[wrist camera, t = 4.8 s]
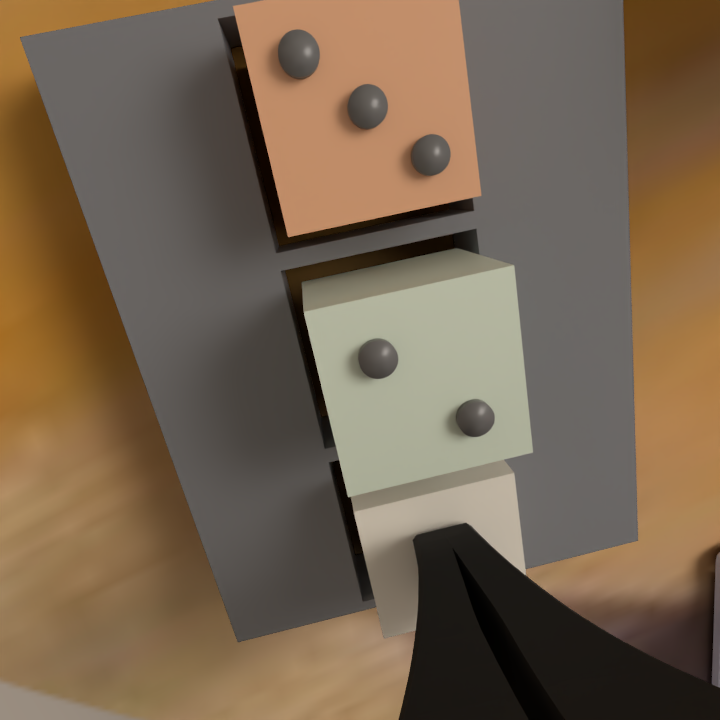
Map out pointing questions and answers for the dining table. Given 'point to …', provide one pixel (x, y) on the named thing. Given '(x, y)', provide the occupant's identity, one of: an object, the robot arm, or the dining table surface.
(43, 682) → the dining table surface
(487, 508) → the cream single-knob block
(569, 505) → the button board
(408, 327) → the pale green cube
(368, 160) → the orange dice cube
